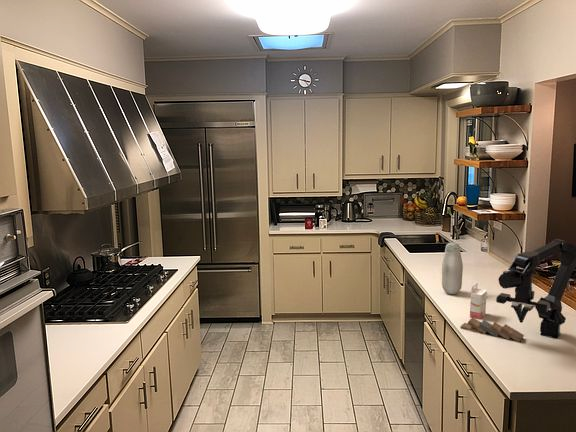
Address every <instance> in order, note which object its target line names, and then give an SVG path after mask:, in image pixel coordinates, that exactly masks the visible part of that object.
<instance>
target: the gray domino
mask: <svg viewBox="0 0 576 432" xmlns="http://www.w3.org/2000/svg"><path fill="white" fill-rule="evenodd" d="M480 322H481V323H480V325H479V327H480V328H482V329H484V330H485V331H487V333H489V334H490V335H493V336H494V337H496V338H498V337H499V336H500V335H499V334H498V333H496V332H494V331H493V330H491V329H490V327H491V326H492V325H493V323H490V322H488V321H487V320H485V319H484V320H482V321H480Z"/></svg>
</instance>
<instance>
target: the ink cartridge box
mask: <svg viewBox="0 0 576 432" xmlns="http://www.w3.org/2000/svg"><path fill="white" fill-rule="evenodd" d="M478 284H479V283H478V282H476V283H475V284H473V285H472V286H471V290H470V302H469V303H470V304H469V318H472V317H473V318H475V319H477V320H480V319H482V318H483V317H484V316H485V315H486V310H487V309H486V308H487V298H488V297H487V295H488V293H487V292H488V290H486V289H482V288H481V289H480V288H478Z"/></svg>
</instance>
